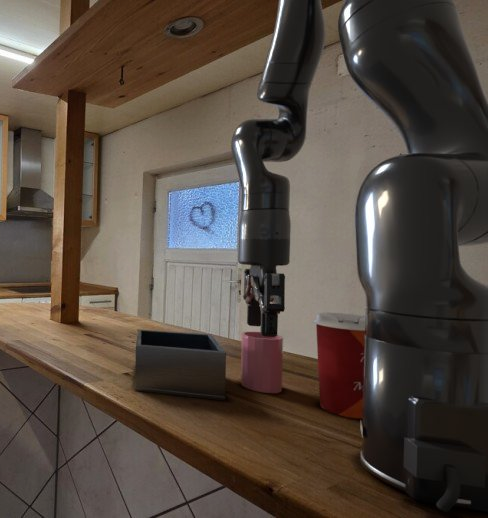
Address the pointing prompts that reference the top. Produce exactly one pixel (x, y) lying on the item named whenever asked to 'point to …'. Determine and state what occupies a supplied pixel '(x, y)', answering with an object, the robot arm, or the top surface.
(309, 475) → the top surface
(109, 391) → the top surface
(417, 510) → the top surface
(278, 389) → the pink cup
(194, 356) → the grey storage bin
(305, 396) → the top surface
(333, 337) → the paper cup
